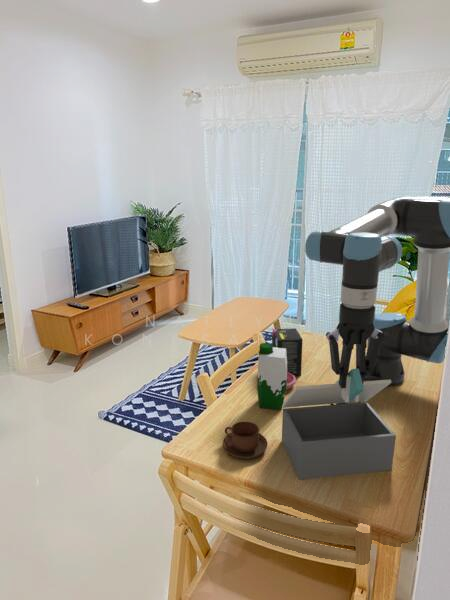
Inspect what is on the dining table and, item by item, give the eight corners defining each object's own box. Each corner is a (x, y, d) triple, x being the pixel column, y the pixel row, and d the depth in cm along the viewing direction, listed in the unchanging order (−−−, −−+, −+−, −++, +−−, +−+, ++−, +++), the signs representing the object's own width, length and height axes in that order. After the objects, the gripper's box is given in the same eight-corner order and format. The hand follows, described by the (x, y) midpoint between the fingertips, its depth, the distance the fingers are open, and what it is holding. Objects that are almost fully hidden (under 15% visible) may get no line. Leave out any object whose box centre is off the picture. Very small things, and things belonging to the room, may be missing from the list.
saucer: (258, 377, 159) (258, 369, 158) (293, 377, 159) (293, 369, 158) (260, 394, 147) (260, 385, 146) (297, 394, 147) (297, 386, 146)
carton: (363, 433, 125) (366, 402, 122) (391, 470, 110) (396, 435, 107) (281, 440, 122) (282, 408, 119) (298, 479, 107) (300, 444, 104)
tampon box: (270, 364, 169) (271, 328, 165) (294, 363, 170) (295, 327, 166) (276, 377, 159) (277, 339, 155) (301, 376, 160) (303, 338, 155)
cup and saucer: (219, 460, 114) (219, 440, 112) (226, 434, 125) (226, 415, 124) (265, 465, 112) (266, 444, 110) (268, 438, 124) (269, 418, 122)
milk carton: (259, 395, 146) (260, 339, 140) (286, 398, 144) (288, 341, 139) (255, 409, 138) (256, 350, 132) (284, 412, 136) (286, 352, 130)
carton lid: (369, 413, 121) (365, 395, 123) (411, 386, 99) (404, 365, 101) (284, 420, 117) (281, 402, 120) (308, 394, 96) (304, 372, 98)
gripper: (332, 310, 93) (325, 409, 99) (397, 307, 94) (386, 404, 101) (319, 300, 100) (314, 393, 106) (381, 297, 102) (371, 389, 108)
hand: (349, 398), depth 104 cm, fingers closed on carton lid, 2 cm apart
